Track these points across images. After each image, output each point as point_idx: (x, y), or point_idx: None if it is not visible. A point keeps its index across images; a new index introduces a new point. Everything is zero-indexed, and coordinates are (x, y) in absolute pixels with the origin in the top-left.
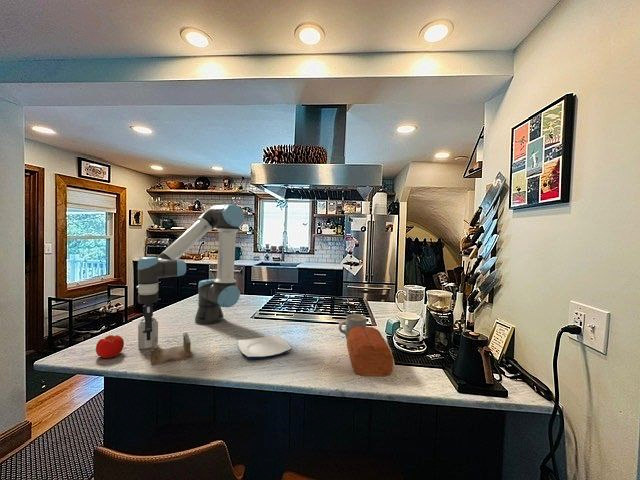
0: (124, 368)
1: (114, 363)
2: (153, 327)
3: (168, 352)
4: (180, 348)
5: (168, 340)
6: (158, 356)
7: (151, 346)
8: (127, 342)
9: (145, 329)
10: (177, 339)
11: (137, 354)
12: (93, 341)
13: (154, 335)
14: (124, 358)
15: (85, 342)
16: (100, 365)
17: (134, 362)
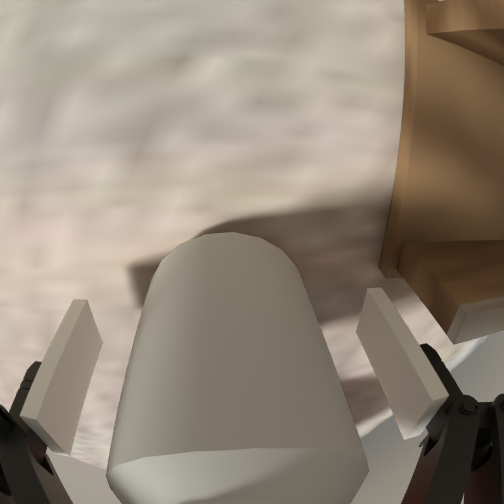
0: (458, 349)
1: (383, 392)
2: (354, 425)
3: (484, 171)
4: (466, 75)
5: (124, 131)
6: (492, 234)
7: (382, 294)
8: (95, 384)
9: (489, 448)
10: (133, 45)
11: (341, 336)
12: (71, 449)
13: (316, 329)
14: (354, 376)
15: (80, 460)
16: (364, 420)
17: (436, 330)
